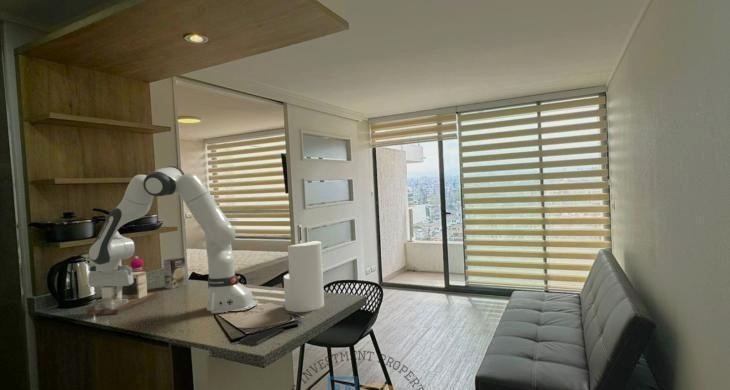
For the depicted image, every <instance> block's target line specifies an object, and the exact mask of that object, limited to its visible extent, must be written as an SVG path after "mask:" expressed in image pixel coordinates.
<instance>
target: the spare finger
mask: <svg viewBox="0 0 730 390" xmlns="http://www.w3.org/2000/svg"><path fill="white" fill-rule="evenodd" d="M117 289H118V288H117V286H106V287H103V288H102V291H101V301H102V303H101V304H102V305H113V304H116V303H118V302H121V301H122V290H121V295H119V296H115V292H117Z"/></svg>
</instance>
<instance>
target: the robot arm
mask: <svg viewBox="0 0 730 390" xmlns="http://www.w3.org/2000/svg"><path fill="white" fill-rule="evenodd" d="M173 194H177V195H179V197H181V199H182V201H183V203H184V204H185V206H186V207H187V209H188V210H189V213H191V215H192V216H193V218H194V220H195V221H196V222H197V223H198V225H199V226H200V228H201V229H202V231H203V233H204V237H205V248H206V256H207V262H208V263H207V265H208V278H207V286H208V288H207V289H208V299H207V306H206V311H208V312H210V313H211V314H222V313H224V312H225V313H229V312H228V311H232V310H237V309H243V308H248V307H253V306H256V305H257V306H258V305H259V300H257V299H254V297H253V292H252V290H251V289H249V288H248V287H246V286H245V285H243V284H241V283H240V282H239V280H240V278H241V276H240V275H238V276H237V274H236V273H235V257H234V254H233V253H234V252H233V248H232V243H234V241H235V240H236V230H235V228H234V227H233V225H232V224H231V222H230V220H229V219H228V218H227V216H226V215H225V214H224V212H223V211H222V210H221V209H220V207H219V205H218V204H217V202H216V201H215V199H214V197H213V196H212V194H211V193H210V191H209V189H208V187H206V185H205V184H204V182H203V181H202V180H201V179H200V177H199V176H198V175H197V174H195V173H185V172H184V171H183V170H182V169H181V168H179V167H178V166H172V165H171V166H166V167H163V168H158V169H156V170H154V171H151V172H150V173H149V174H147V175H146V174H136V175H134V176H133V177H132V178H131V180H130V182H129V184H128V185H127V187H126V190H125V192H124V195H123V198H122V200H121V201H120V203H119V204H118V205H117V206H116V207H115V208H113V209H112V210H111V211H110V213H109V214H108V216H107V218H106V219H105V221H104V223H103V225H102V226H101V229H100V231H99V233H98V235H97V236H96V238H95V240H94V241H93V242H92V243H91V245H90V246H89V248H88V252H87V253H88V254H87V255H88V258H89V259H90V261H92V262H93V263H95V264H94V265H91V266H89V267H88V268H87V269H88V275H87V280H88V281H87V282H88V286H89V287H90V288H94V287H95V288H96V287H97V288H98V287H99V288H100V290H101V292H102V288H103V287H106V286H117V288H118V289H117V292H115V296H119V295H121V291H122V288H123V286H129V285H132V284H133V282H134V280H133V274H132V272H133V271H132V267H131V266H130V265H122V264H123V263H122V260H127V259H130V258H133V257H134V255H136V252H137V244H136V242H135V241H134V239H132V238H130V237H125V236H124V235H121V234H120V232H119V231H118V230H119V229H120V228H121V227H122V226H124V225H125V224H127V223H129V222H132V221H135V220H138V219H141V218H142V217H144V216H146V215H147V214H148V212H149V211H150V209H151V207H152V204H153V201H154V197H164V196H169V195H170V196H172V195H173ZM257 306H256V307H257Z"/></svg>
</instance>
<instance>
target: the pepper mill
mask: <svg viewBox="0 0 730 390" xmlns="http://www.w3.org/2000/svg"><path fill="white" fill-rule="evenodd" d="M143 264H144V262H143V260H142V259H140V258H139V256H138V255H136V256H134V259H132V260H131V261H130V264H129V267H131V268H132V272H142V271H143V267H142V266H143Z"/></svg>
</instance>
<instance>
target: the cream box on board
mask: <svg viewBox="0 0 730 390" xmlns="http://www.w3.org/2000/svg"><path fill="white" fill-rule="evenodd" d="M132 274H133V280H134V282H133V284H132V285H129V286H123V288H122V290H121V291H122V301H121V302H118V303H116V304H113V305H102V303H99V304H97V305H95V306H94V307H92V308H91V307H90V308H88V309H86V315H119V314H121V313H123V312H126V311H128V310H131V309H133V308H135V307H137V306H140V305H142V304H144V303H147V302H149V301H151V300H153V299H156V298H158V297H159V292H148V286H147V285H148V284H147V283H148V282H147V272H146V271H141V272H133V271H132Z"/></svg>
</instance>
